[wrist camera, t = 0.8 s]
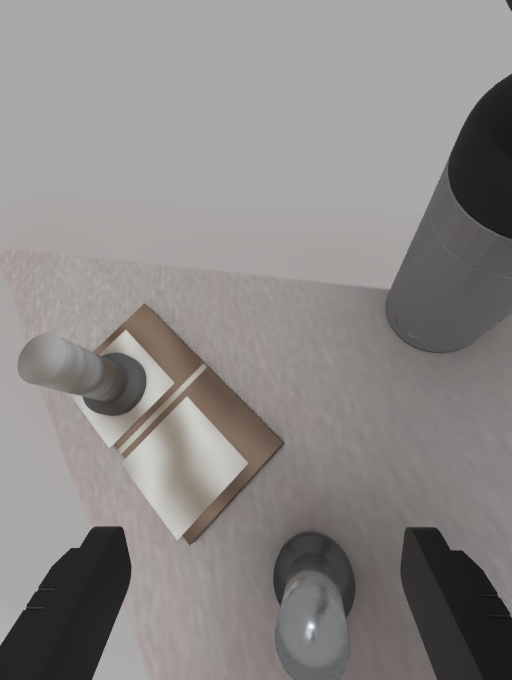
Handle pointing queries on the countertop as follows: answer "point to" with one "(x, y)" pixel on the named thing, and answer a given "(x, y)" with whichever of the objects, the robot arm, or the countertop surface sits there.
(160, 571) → the countertop surface
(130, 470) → the board
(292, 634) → the pin
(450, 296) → the robot arm
